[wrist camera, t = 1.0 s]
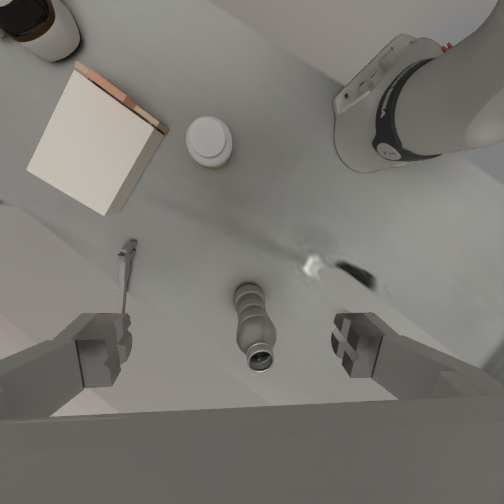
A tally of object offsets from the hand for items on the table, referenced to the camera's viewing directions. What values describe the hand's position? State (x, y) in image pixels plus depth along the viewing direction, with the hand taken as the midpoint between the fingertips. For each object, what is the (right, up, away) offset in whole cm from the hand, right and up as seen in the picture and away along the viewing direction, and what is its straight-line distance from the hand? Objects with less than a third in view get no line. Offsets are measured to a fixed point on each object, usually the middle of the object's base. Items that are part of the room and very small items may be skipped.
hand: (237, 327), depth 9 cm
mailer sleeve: (-24, +20, +31) cm, 44 cm away
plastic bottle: (0, -6, +42) cm, 42 cm away
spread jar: (-32, +37, +26) cm, 55 cm away
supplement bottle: (-7, +21, +33) cm, 40 cm away
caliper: (-25, -4, +39) cm, 46 cm away
